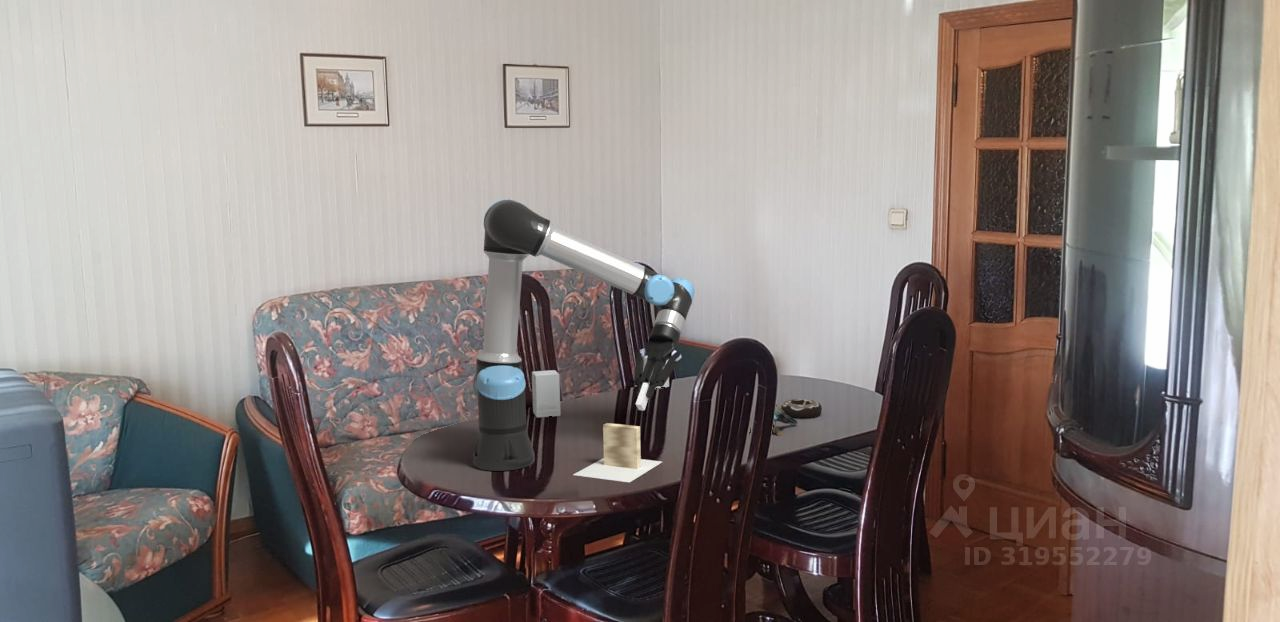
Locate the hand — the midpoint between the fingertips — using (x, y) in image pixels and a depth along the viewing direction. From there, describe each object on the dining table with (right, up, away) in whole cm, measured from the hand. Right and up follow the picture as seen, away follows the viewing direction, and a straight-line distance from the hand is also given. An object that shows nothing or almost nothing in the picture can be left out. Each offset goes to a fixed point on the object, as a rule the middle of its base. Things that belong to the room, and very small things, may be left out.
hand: (639, 407), depth 255 cm
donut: (+47, -7, +43) cm, 64 cm away
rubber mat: (-5, -14, -9) cm, 18 cm away
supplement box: (-28, -7, +50) cm, 57 cm away
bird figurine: (+35, -9, +24) cm, 44 cm away
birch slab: (-4, -13, -7) cm, 16 cm away
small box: (+5, -1, +84) cm, 85 cm away
